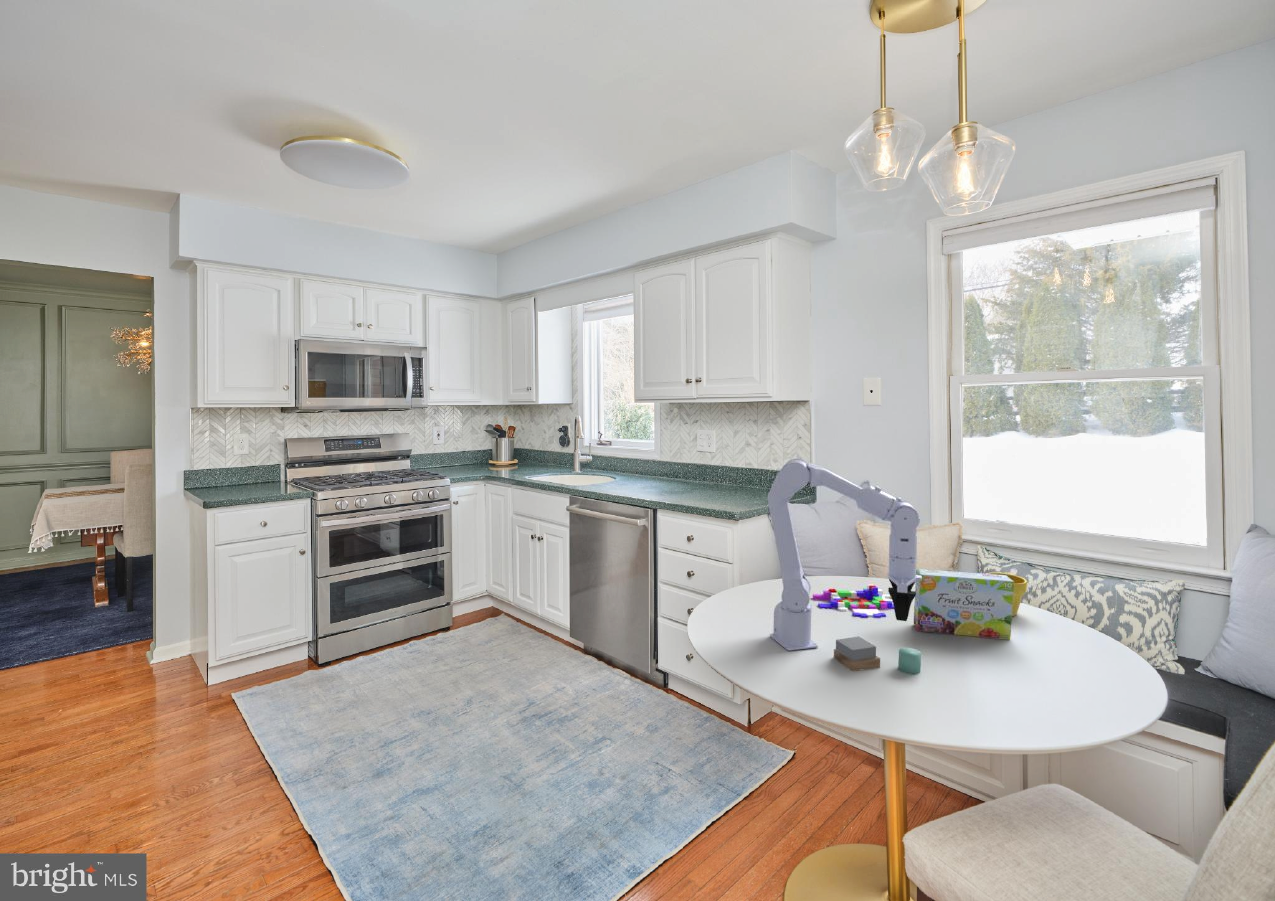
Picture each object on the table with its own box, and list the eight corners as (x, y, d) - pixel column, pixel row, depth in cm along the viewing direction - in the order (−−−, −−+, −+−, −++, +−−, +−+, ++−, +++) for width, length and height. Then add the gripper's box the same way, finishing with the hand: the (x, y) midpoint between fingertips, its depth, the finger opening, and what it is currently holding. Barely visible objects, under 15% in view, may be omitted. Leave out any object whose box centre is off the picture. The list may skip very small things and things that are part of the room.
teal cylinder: (893, 666, 135) (894, 648, 135) (910, 664, 136) (911, 646, 136) (907, 675, 131) (908, 657, 131) (924, 672, 132) (925, 654, 132)
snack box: (917, 632, 155) (920, 573, 153) (913, 624, 160) (915, 567, 159) (1011, 640, 150) (1015, 580, 148) (1003, 632, 155) (1007, 573, 154)
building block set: (827, 619, 165) (828, 603, 165) (808, 594, 185) (808, 580, 185) (921, 620, 165) (922, 603, 164) (891, 595, 185) (892, 580, 185)
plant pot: (1018, 622, 162) (1020, 585, 161) (975, 611, 169) (977, 577, 168) (1030, 612, 169) (1032, 577, 168) (988, 603, 176) (990, 569, 175)
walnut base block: (833, 659, 140) (833, 649, 140) (860, 656, 141) (860, 645, 141) (851, 673, 133) (852, 661, 133) (879, 669, 135) (880, 658, 135)
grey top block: (835, 650, 139) (836, 639, 139) (858, 646, 141) (858, 636, 140) (852, 661, 133) (852, 650, 133) (875, 657, 135) (876, 646, 135)
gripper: (923, 565, 131) (921, 627, 132) (921, 549, 144) (919, 606, 145) (887, 562, 133) (886, 623, 135) (888, 547, 147) (887, 603, 148)
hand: (901, 614), depth 140 cm, fingers open, 7 cm apart
